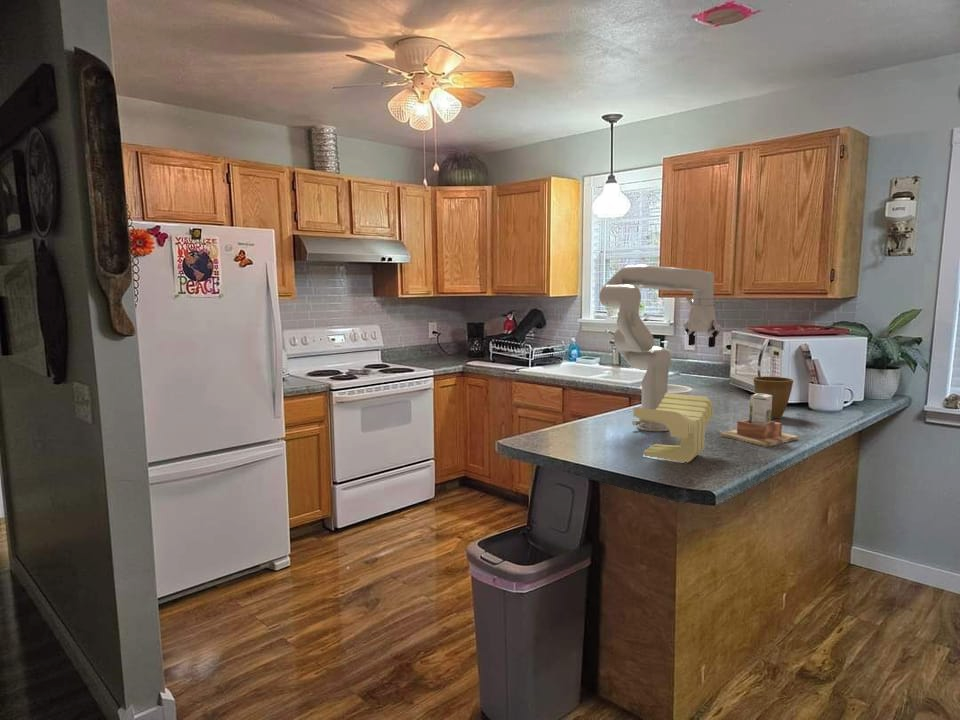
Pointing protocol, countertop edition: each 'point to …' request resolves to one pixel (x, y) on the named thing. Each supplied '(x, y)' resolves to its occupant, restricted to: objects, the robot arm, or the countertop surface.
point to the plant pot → (775, 392)
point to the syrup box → (760, 409)
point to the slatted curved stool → (679, 425)
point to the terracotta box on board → (759, 433)
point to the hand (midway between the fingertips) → (701, 346)
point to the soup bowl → (677, 389)
